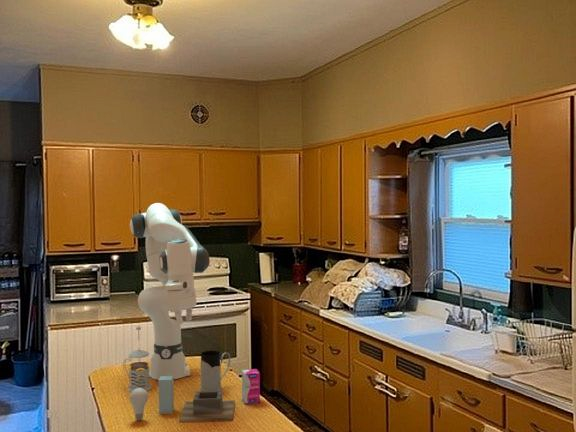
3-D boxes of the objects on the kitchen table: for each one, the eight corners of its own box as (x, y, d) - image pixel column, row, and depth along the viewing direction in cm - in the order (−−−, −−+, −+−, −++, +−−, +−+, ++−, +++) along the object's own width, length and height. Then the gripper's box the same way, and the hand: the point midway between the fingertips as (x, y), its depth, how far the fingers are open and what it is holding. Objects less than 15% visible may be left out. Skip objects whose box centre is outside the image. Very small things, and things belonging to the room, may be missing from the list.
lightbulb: (150, 416, 203) (149, 385, 203) (146, 423, 197) (145, 390, 196) (132, 417, 203) (131, 385, 202) (128, 423, 196) (127, 391, 196)
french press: (145, 392, 229) (144, 329, 229) (118, 391, 231) (117, 328, 231) (155, 385, 239) (155, 324, 238) (129, 383, 241) (128, 323, 241)
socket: (185, 404, 215) (185, 388, 215) (234, 402, 216) (234, 386, 216) (179, 422, 197) (179, 404, 197) (232, 420, 198) (232, 403, 198)
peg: (161, 409, 210) (160, 376, 210) (173, 409, 210) (173, 375, 210) (159, 413, 206) (158, 380, 205) (171, 413, 206) (171, 379, 206)
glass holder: (195, 390, 231) (194, 353, 231) (223, 382, 241) (222, 346, 241) (208, 395, 225) (208, 357, 224) (237, 387, 235) (236, 350, 234)
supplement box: (244, 405, 214) (244, 373, 214) (241, 399, 220) (241, 369, 219) (260, 403, 215) (260, 372, 215) (256, 398, 221) (256, 368, 221)
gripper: (182, 282, 220) (185, 319, 220) (162, 286, 200) (166, 326, 199) (198, 280, 219) (201, 317, 219) (180, 284, 199) (183, 325, 198)
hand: (184, 322), depth 209 cm, fingers open, 8 cm apart
